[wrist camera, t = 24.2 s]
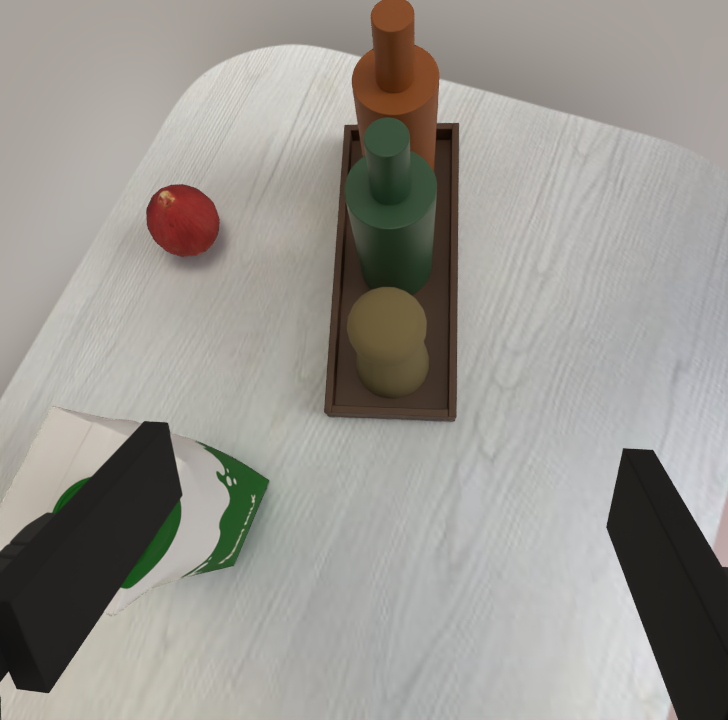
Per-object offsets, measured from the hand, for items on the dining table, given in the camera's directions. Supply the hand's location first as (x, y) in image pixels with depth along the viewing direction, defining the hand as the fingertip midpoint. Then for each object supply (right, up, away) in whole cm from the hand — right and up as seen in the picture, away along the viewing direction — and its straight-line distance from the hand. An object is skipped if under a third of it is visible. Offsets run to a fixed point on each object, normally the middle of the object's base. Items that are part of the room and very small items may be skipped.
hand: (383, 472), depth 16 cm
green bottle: (+2, +11, +31) cm, 33 cm away
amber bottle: (+3, +20, +33) cm, 38 cm away
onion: (-15, +14, +34) cm, 40 cm away
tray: (+2, +11, +31) cm, 33 cm away
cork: (+2, +3, +29) cm, 29 cm away
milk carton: (-13, -8, +28) cm, 32 cm away
